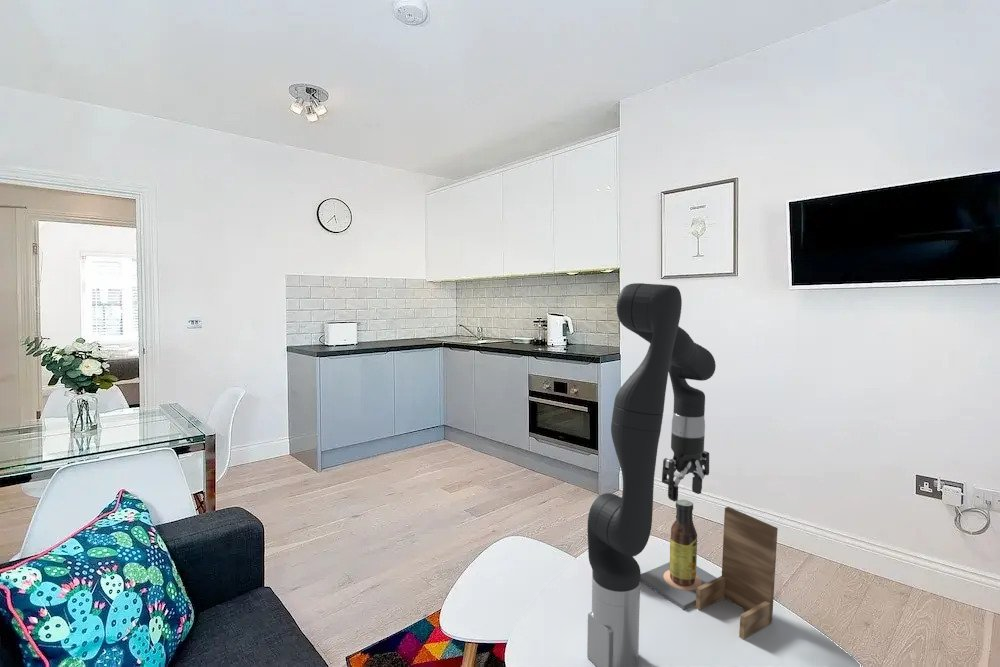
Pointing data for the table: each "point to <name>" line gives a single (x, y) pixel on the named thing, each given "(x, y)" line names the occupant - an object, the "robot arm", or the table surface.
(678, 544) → the sauce bottle
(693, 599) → the mat
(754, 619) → the shelf nook
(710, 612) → the table surface
